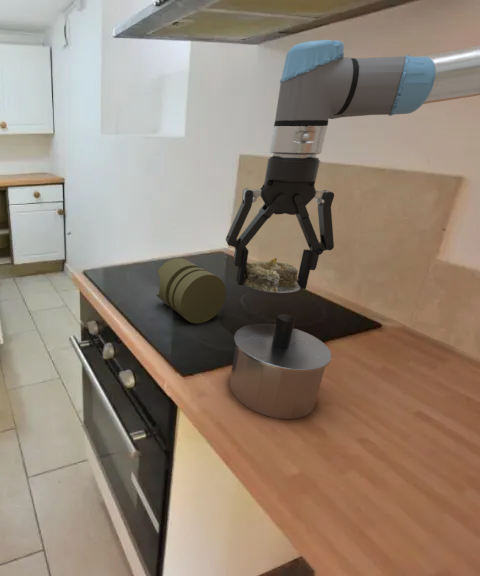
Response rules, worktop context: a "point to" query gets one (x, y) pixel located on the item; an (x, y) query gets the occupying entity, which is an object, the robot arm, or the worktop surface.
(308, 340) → the pot lid
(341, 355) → the worktop surface
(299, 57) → the robot arm
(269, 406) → the pot
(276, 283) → the cake
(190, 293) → the piston
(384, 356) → the worktop surface
